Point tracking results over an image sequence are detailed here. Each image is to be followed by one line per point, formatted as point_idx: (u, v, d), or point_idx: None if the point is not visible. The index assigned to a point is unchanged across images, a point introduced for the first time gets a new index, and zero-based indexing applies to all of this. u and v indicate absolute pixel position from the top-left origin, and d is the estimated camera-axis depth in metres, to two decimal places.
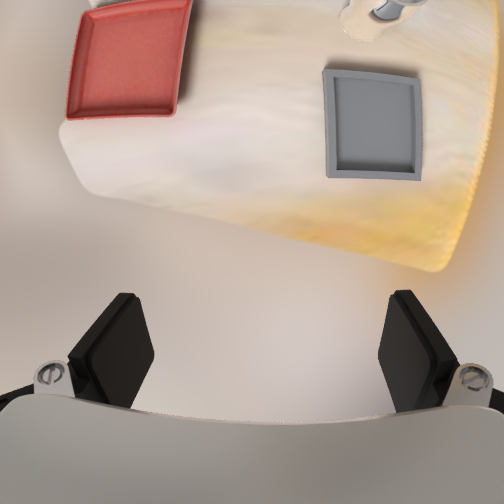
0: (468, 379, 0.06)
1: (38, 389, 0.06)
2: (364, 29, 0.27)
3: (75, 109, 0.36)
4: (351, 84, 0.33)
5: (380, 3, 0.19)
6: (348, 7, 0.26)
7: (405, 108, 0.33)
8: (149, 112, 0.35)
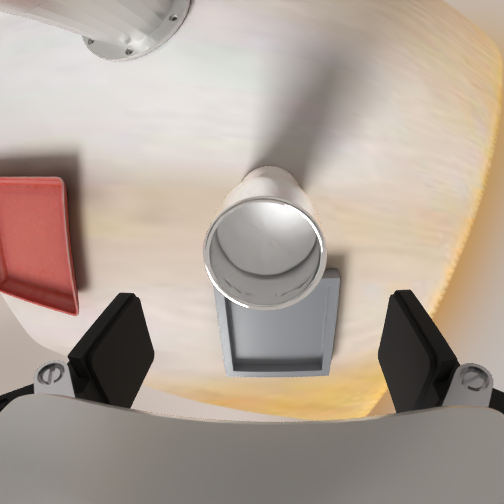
0: (468, 379, 0.06)
1: (38, 389, 0.06)
2: None
3: (4, 278, 0.35)
4: None
5: None
6: None
7: (319, 307, 0.33)
8: (59, 303, 0.35)
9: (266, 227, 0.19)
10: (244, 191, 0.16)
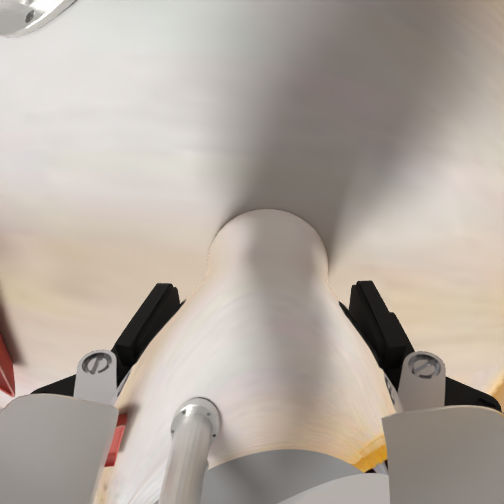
0: (418, 367, 0.06)
1: (85, 379, 0.06)
2: None
3: None
4: None
5: None
6: None
7: None
8: None
9: None
10: None
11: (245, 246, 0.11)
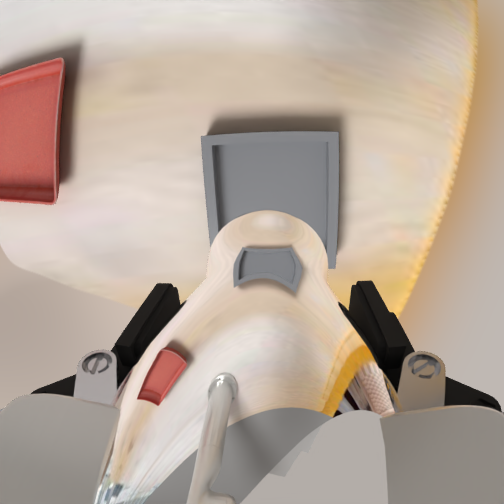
0: (418, 367, 0.06)
1: (85, 379, 0.06)
2: None
3: None
4: (240, 149, 0.29)
5: None
6: None
7: (318, 174, 0.29)
8: (38, 197, 0.31)
9: None
10: None
11: (245, 247, 0.11)
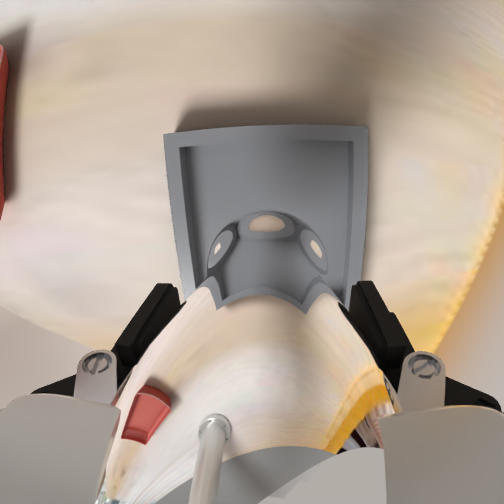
0: (418, 367, 0.06)
1: (85, 379, 0.06)
2: None
3: None
4: (223, 152, 0.20)
5: None
6: None
7: (337, 188, 0.20)
8: None
9: None
10: None
11: (245, 247, 0.11)
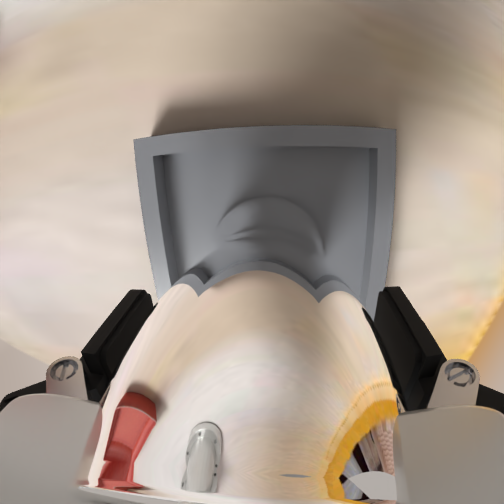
0: (454, 375, 0.06)
1: (51, 386, 0.06)
2: None
3: None
4: (209, 161, 0.15)
5: None
6: None
7: (354, 207, 0.16)
8: None
9: None
10: (158, 390, 0.04)
11: (247, 225, 0.13)
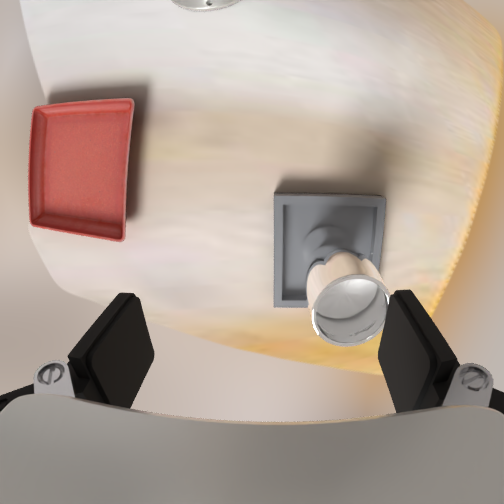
0: (468, 379, 0.06)
1: (38, 389, 0.06)
2: None
3: (39, 213, 0.38)
4: (305, 208, 0.35)
5: (324, 331, 0.25)
6: (309, 256, 0.33)
7: (365, 231, 0.35)
8: (102, 232, 0.37)
9: (344, 287, 0.26)
10: (340, 267, 0.23)
11: (327, 238, 0.32)
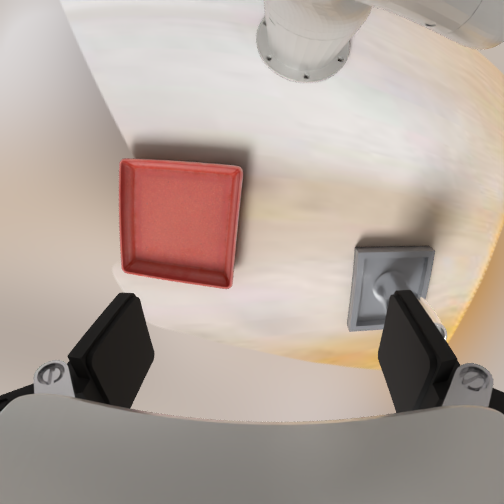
0: (468, 379, 0.06)
1: (38, 389, 0.06)
2: None
3: (130, 260, 0.47)
4: (377, 258, 0.44)
5: None
6: (383, 297, 0.42)
7: (417, 272, 0.44)
8: (206, 279, 0.46)
9: None
10: None
11: (396, 284, 0.41)
